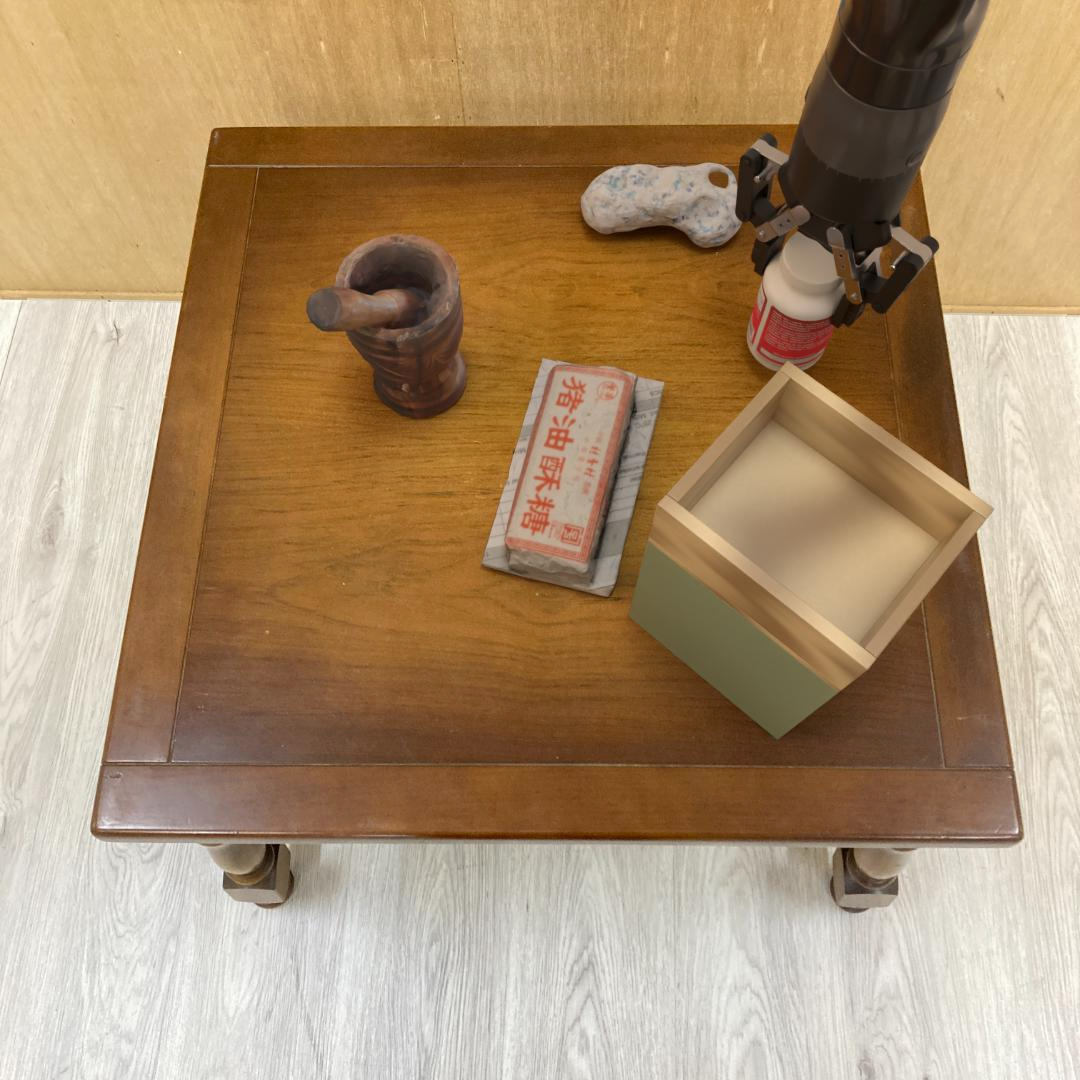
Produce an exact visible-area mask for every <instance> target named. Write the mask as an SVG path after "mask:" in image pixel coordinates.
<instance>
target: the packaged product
mask: <svg viewBox="0 0 1080 1080" xmlns="http://www.w3.org/2000/svg"><path fill="white" fill-rule="evenodd" d="M664 387H665V382H664V381H659V380H655V379H651V378H648V377H647V378H646V377H640V376H638V374H637V373H636V372H634V373H633V372H630V371H627V370H623V369H621V368H618V367H616V366H613V365H612V366H608V365H599V366H596V365H595V366H594V365H581V364H575V363H572V362H567V361H562V360H558V359H557V360H552V359H548V358H545V357H542V360H541V363H540V366H539V369H538V373H537V375H536V378H535V382H534V385H533V389H532V392H531V396H530V399H529V403H528V406H527V409H526V411H525V415H524V418H523V423H522V426H521V429H520V433H519V436H518V440H517V442H516V446H515V450H514V453H513V455H512V459H511V462H510V466H509V471H508V476H507V480H506V481H505V482H504V483H505V484H504V487H503V490H502V494H501V496H500V500H499V503H498V507H497V510H496V513H495V518H494V521H493V523H492V527H491V530H490V534H489V536H488V541H487V544H486V546H485V550H484V553H483V557H482V560H481V564H480V565H481V566H482V567H487V568H490V569H493V570H497V571H501V572H505V573H508V574H512V575H516V576H518V577H522V578H527V579H531V580H535V581H540V582H544V583H547V584H552V585H557V586H561V587H566V588H568V589H569V588H570V589H573V590H577V591H581V592H585V593H588V594H589V593H590V594H592V595H593V594H594V595H597V596H600V597H601V596H602V597H607V598H609V597H610V595H611V593H612V591H613V589H614V587H615V585H616V582H617V579H618V575H619V570H620V565H621V559H622V556H623V551H624V547H625V544H626V541H627V537H628V534H629V529H630V526H631V523H632V520H633V519H632V518H633V514H634V509H635V504H636V501H637V497H638V493H639V490H640V486H641V483H642V479H643V476H644V473H645V468H646V463H647V459H648V456H649V451H650V447H651V443H652V441H653V437H654V432H655V428H656V424H657V420H658V416H659V412H660V409H661V403H662V399H663V392H664Z"/></svg>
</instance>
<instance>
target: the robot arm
mask: <svg viewBox="0 0 1080 1080" xmlns="http://www.w3.org/2000/svg"><path fill="white" fill-rule="evenodd" d="M990 2H991V0H840V2H839V5H838V9H837V11H836V14H835V19H834V22H833V25H832V28H831V31H830V35H829V38H828V41H827V44H826V47H825V49H824V51H823V54H822V55H821V58H820V59H819V61H818V64H817V66H816V68H815V70H814V72H813V75H812V78H811V81H810V83H809V85H808V87H807V89H806V92H805V95H804V105H803V108H802V110H801V115H800V118H799V121H798V125H797V128H796V131H795V135H794V138H793V141H792V145H791V148H790V151H789V154H788V153H785V152H783V151H782V150H780V149H778V140H777V138H776V137H775V135H773V133H770V132H765V133H763V134H762V135H761V136H760V137H759V138H758V139H757V140H755V142H754V143H753V144H752V145H750V146H749V148H748V149H747V150H745V152H744V153H743V154H742V155H741V156H740V158H739V165H738V167H739V168H738V176H737V196H736V207H735V214H736V217H737V218H738V219H739V220H740V221H741V222H742V224H747V223H750V224H751V225H752V226H753V227H754V229H753V235H754V236H755V240H754V243H753V247H752V249H751V250H752V251H751V253H750V259H751V262H752V263H753V264H754V266H753V267H754V268H753V272H754V273H755V274H757V275H758V276H760V277H763V276H764V273H765V270H766V268H767V266H768V264H769V262H770V261H771V259H772V258H773V257H774V256H775V255H776V254H777V253H779V252H780V251H782V250H783V248H784V245H785V240H786V237H787V234H788V232H790V231H792V230H794V229H795V228H796V227H797V231H796V232H800V233H801V234H803V235H804V236H806V237H808V238H810V239H812V240H815V241H817V242H818V243H819V244H820V245H821V246H822V247H823V248H824V249H826V250H827V251H828V252H830V253H831V254H833V256H834V262H835V267H836V272H837V276H838V277H841V278H843V281H844V287H845V292H846V293H845V294H844V295H843V296H842V298H841V300H840V302H839V305H838V307H837V309H836V311H835V313H834V316H833V318H832V320H831V322H830V324H832V325H833V326H835V328H836V329H838V330H840V328H842V326H843V325H844V326H846V327H847V328H849V327H851V326H853V325H854V323H855V322H856V321H857V320H858V319H859V318H860V317H861V316H862V315H863V313H864V312H865V310H866V309H867V306H868V305H870V307H871V309H872V310H873V311H874V312H875V313H877V314H879V315H885V314H886V313H887V312H888V310H889V309H891V307H892V306H893V305H894V304H895V303H896V302H897V300H899V298H901V296H902V295H903V294H904V293H905V291H906V290H907V289H909V287H910V285H912V283H913V282H914V281H915V279H916V278H917V276H919V274H920V273H921V272H922V271H923V270H924V268H925V267H926V266H927V265H928V264H929V262H930V261H931V259H932V258H933V257H934V256H935V254H936V253H938V251H939V249H940V243H939V241H938V240H937V239H936V238H935V237H934V236H931V235H925V236H923V237H922V238H921V240H918V239H917V238H915V237H914V236H913V235H912V234H910V233H909V232H908V231H906V230H905V229H904V228H903V227H902V226H903V218H902V207H903V205H904V203H905V201H906V199H907V197H908V196H909V193H910V191H911V189H912V187H913V184H914V182H915V180H916V178H917V175H918V174H919V172H920V169H921V167H922V165H923V163H924V161H925V159H926V157H927V155H928V152H929V150H930V148H931V146H932V144H933V142H934V140H935V139H936V136H937V134H938V132H939V130H940V127H941V125H942V123H943V121H944V118H945V117H946V114H947V111H948V108H949V107H950V102H951V99H952V96H953V92H954V88H955V85H956V83H957V80H958V78H959V76H960V74H961V72H962V69H963V68H964V66H965V64H966V62H967V59H968V57H969V55H970V52H971V51H972V49H973V46H974V44H975V42H976V40H977V38H978V36H979V33H980V30H981V28H982V26H983V24H984V21H985V18H986V15H987V13H988V9H989V7H990ZM775 175H777V181H778V185H779V187H780V190H781V193H782V195H783V198H784V202H782V203H779V205H778V206H775V205H773V203H772V202H771V201H770V200H771V198H772V197H771V196H772V189H773V180H774V176H775ZM885 246H887V247H888V248H889V249H890V253H891V254H890V257H889V260H890V264H889V265H888V270H889V271H890V272H892V274H891V275H890V276H889V277H888V278H886V277H884V276H883V274H882V273H883V272H882V267H881V266H882V265H881V259H880V257H881V254H882V252H883V247H885Z"/></svg>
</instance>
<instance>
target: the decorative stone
mask: <svg viewBox="0 0 1080 1080" xmlns="http://www.w3.org/2000/svg"><path fill="white" fill-rule="evenodd" d="M715 172H719V173H723V174H724V175H726V176H727V177H728V178H727V181H728V183H727V186H726V187H725V188H724V187H720V186H717V185H715V184H713V183H712V182H711V181H710V179H709V176H710V175H711V174H712V173H715ZM737 186H738V181H737V179H736V176H735V174H734V172H733V171H732V170H730V169H729V168H728V167H726V166H725V165H722V164H721V163H715V162H704V163H699V164H695V165H686V166H683V165H670V166H665V167H658V166H656V165H652V164H645V163H635V164H631V165H618V166H613V167H611V168H609V169H606V170H605V171H604V172H602V173H601V174H599V175H598V176H596V177H595V178H594V179H593V180H591V182H590V183H589V185H588V187H587V188H586V190H585V191H584V192H583V193H582V195H581V197H580V208H581V214H582V217H583V220H584V221H585V223H586V224H587V225H588V226H589V227H590V228H592V229H593V230H594V231H596V232H597V233H599V234H603V235H610V234H614V233H620V232H621V233H623V232H624V233H625V232H632V231H634V230H638V229H641V228H647V227H648V228H649V227H656V226H657V227H658V226H665V227H666V226H667V227H673V228H674V229H677V230H679V231H681V232H683V233H684V234H686V235H687V237H688V238H689V239H690V240H691V242H692V243H693V244H695V245H696V246H698V247H700V248H705V249H707V248H713V247H720V246H723V245H724V244H726V243H727V242H729V241H730V239H731V238H733V237H734V236H735V235H736V234H737V232H738V231H739V230H740V228H741V226H742V224H743V222H741V221H740V220H739V219H738V218H737V217H736V214H735V207H736V196H737Z"/></svg>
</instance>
